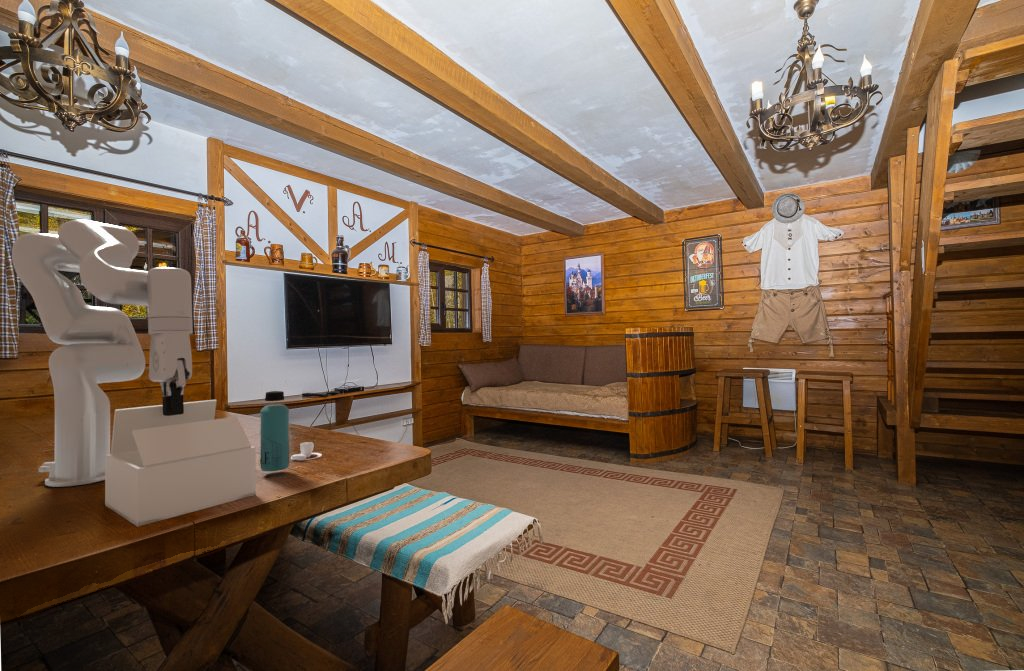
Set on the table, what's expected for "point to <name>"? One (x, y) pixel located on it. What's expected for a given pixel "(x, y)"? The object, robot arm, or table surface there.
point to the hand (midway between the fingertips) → (173, 414)
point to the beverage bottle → (274, 434)
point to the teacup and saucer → (305, 452)
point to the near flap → (189, 440)
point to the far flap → (154, 421)
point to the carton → (176, 484)
